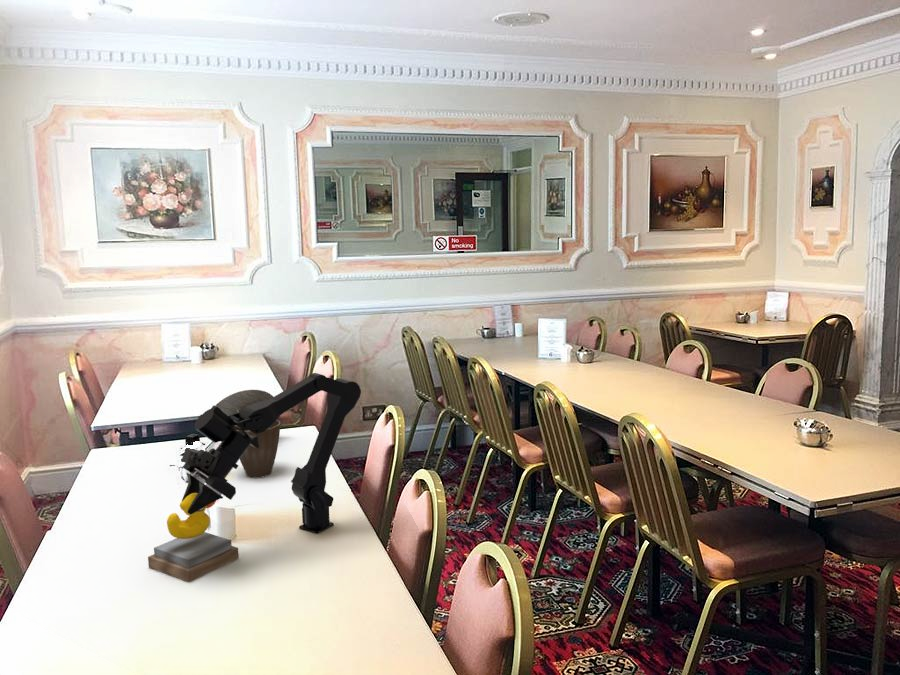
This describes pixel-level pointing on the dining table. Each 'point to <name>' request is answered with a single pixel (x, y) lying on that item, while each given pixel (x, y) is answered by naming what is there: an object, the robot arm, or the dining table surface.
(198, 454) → the robot arm
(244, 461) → the plant pot
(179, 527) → the duckling
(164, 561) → the metal-topped wooden square
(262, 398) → the grey brimmed hat
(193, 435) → the black block
